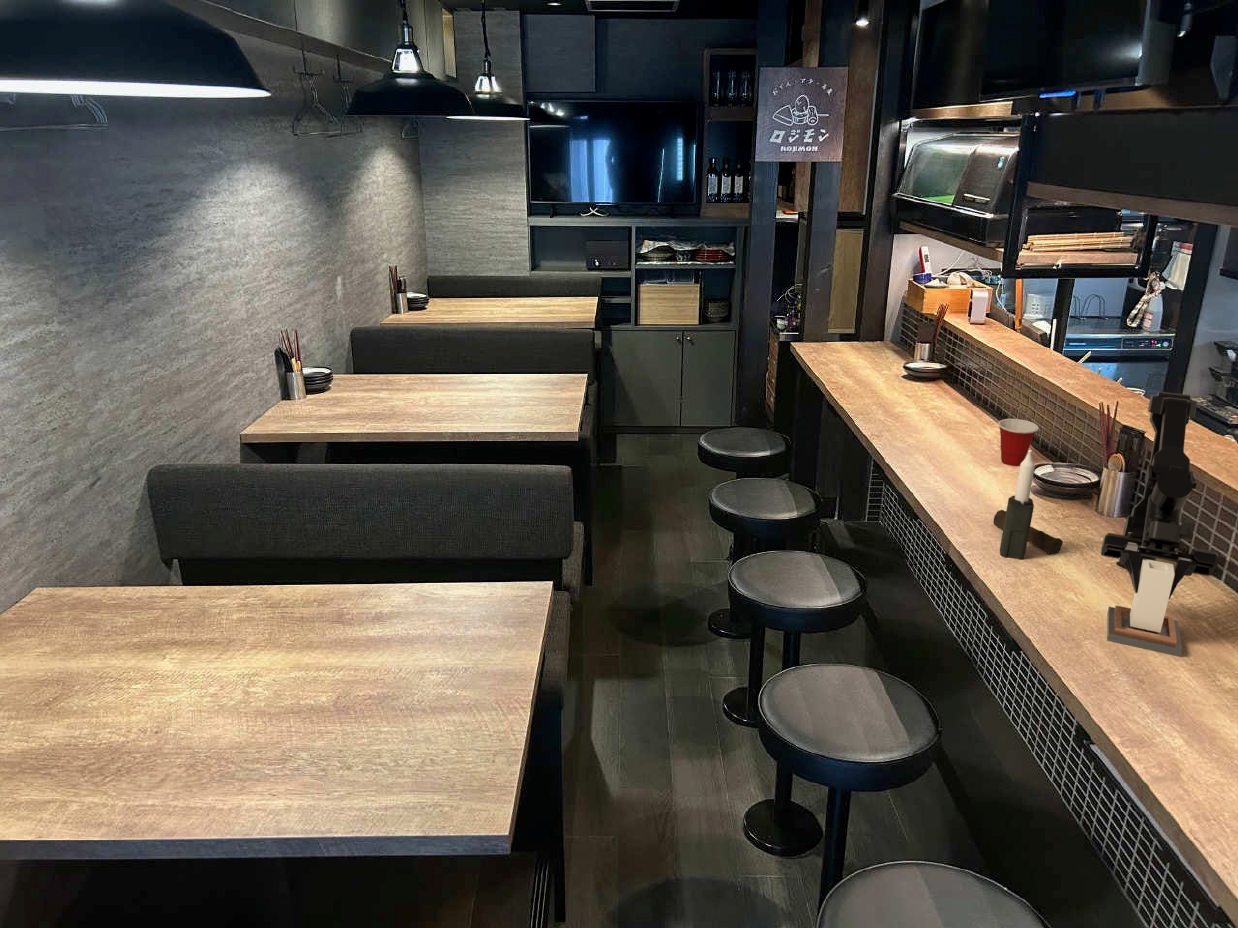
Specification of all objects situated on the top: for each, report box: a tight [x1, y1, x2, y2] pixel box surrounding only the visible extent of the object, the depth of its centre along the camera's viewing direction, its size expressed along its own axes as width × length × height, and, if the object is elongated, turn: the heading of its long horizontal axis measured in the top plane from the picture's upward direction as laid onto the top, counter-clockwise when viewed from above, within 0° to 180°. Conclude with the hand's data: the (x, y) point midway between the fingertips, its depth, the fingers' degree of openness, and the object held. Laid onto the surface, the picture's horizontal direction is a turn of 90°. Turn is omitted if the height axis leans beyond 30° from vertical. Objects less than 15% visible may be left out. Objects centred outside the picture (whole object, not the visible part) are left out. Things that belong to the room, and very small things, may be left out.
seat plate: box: [1106, 605, 1183, 658], centre depth 175 cm, size 12×12×4 cm
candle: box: [999, 449, 1036, 561], centre depth 205 cm, size 5×5×25 cm
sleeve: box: [1130, 559, 1175, 633], centre depth 173 cm, size 5×5×12 cm
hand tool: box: [992, 509, 1064, 556], centre depth 217 cm, size 19×4×5 cm, turn 21°
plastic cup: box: [997, 418, 1039, 467], centre depth 267 cm, size 11×11×12 cm
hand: (1152, 595), depth 172 cm, fingers closed on sleeve, 5 cm apart
